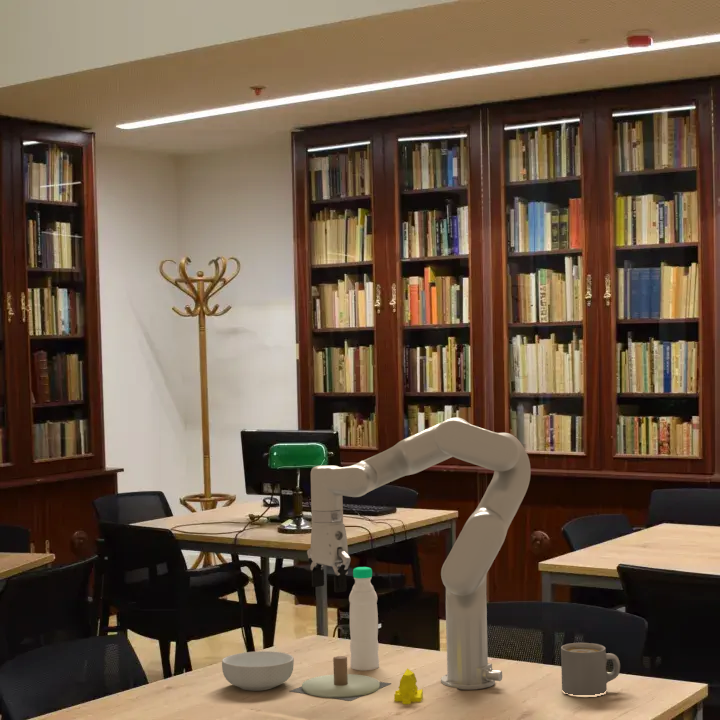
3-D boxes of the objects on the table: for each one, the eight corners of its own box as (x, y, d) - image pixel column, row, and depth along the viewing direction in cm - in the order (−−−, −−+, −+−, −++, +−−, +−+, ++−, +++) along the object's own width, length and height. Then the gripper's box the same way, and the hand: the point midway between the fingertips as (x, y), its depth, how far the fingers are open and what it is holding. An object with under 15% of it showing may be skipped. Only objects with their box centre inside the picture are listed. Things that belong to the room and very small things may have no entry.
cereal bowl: (309, 686, 277) (308, 656, 277) (256, 702, 265) (255, 670, 265) (260, 675, 288) (259, 646, 289) (207, 689, 276) (207, 659, 276)
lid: (394, 683, 276) (393, 654, 276) (351, 701, 261) (350, 670, 261) (331, 674, 286) (330, 645, 286) (286, 691, 271) (285, 661, 271)
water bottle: (376, 672, 288) (373, 570, 288) (347, 672, 289) (345, 570, 290) (381, 665, 295) (379, 565, 295) (353, 665, 296) (351, 565, 297)
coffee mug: (565, 698, 261) (564, 653, 262) (559, 686, 271) (557, 643, 272) (626, 697, 261) (625, 652, 261) (617, 685, 271) (616, 642, 271)
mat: (391, 686, 275) (391, 683, 275) (350, 703, 261) (350, 700, 261) (332, 677, 285) (332, 674, 285) (289, 693, 271) (289, 691, 271)
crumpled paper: (424, 697, 265) (423, 663, 265) (419, 707, 257) (418, 671, 257) (398, 697, 266) (397, 662, 266) (393, 706, 258) (392, 671, 258)
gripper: (360, 518, 277) (362, 591, 277) (320, 513, 292) (322, 582, 291) (334, 521, 273) (336, 595, 273) (295, 515, 287) (296, 586, 287)
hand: (329, 588), depth 282 cm, fingers open, 9 cm apart
